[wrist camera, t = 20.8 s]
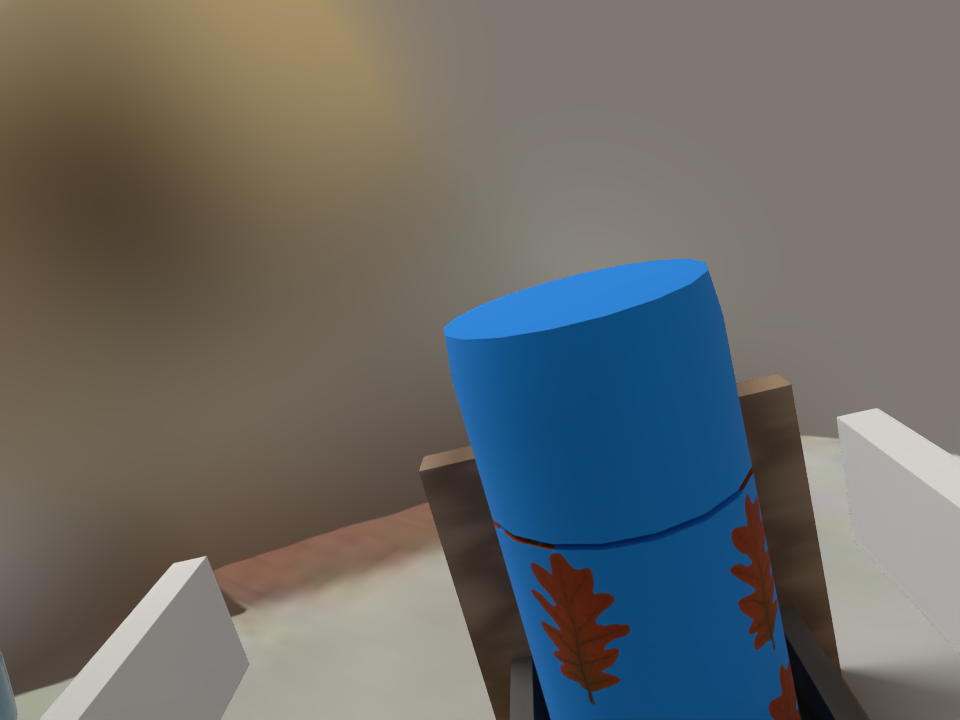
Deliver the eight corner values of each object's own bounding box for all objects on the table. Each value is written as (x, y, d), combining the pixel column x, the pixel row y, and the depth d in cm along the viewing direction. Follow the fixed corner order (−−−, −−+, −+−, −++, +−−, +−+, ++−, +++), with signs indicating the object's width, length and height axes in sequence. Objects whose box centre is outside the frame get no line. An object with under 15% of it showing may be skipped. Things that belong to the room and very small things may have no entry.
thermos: (788, 971, 26) (646, 322, 20) (541, 863, 32) (382, 352, 26) (837, 746, 34) (747, 242, 28) (634, 697, 40) (527, 280, 35)
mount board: (499, 1076, 26) (351, 665, 22) (507, 727, 42) (423, 456, 38) (1045, 1007, 24) (994, 536, 19) (828, 667, 40) (776, 373, 36)
